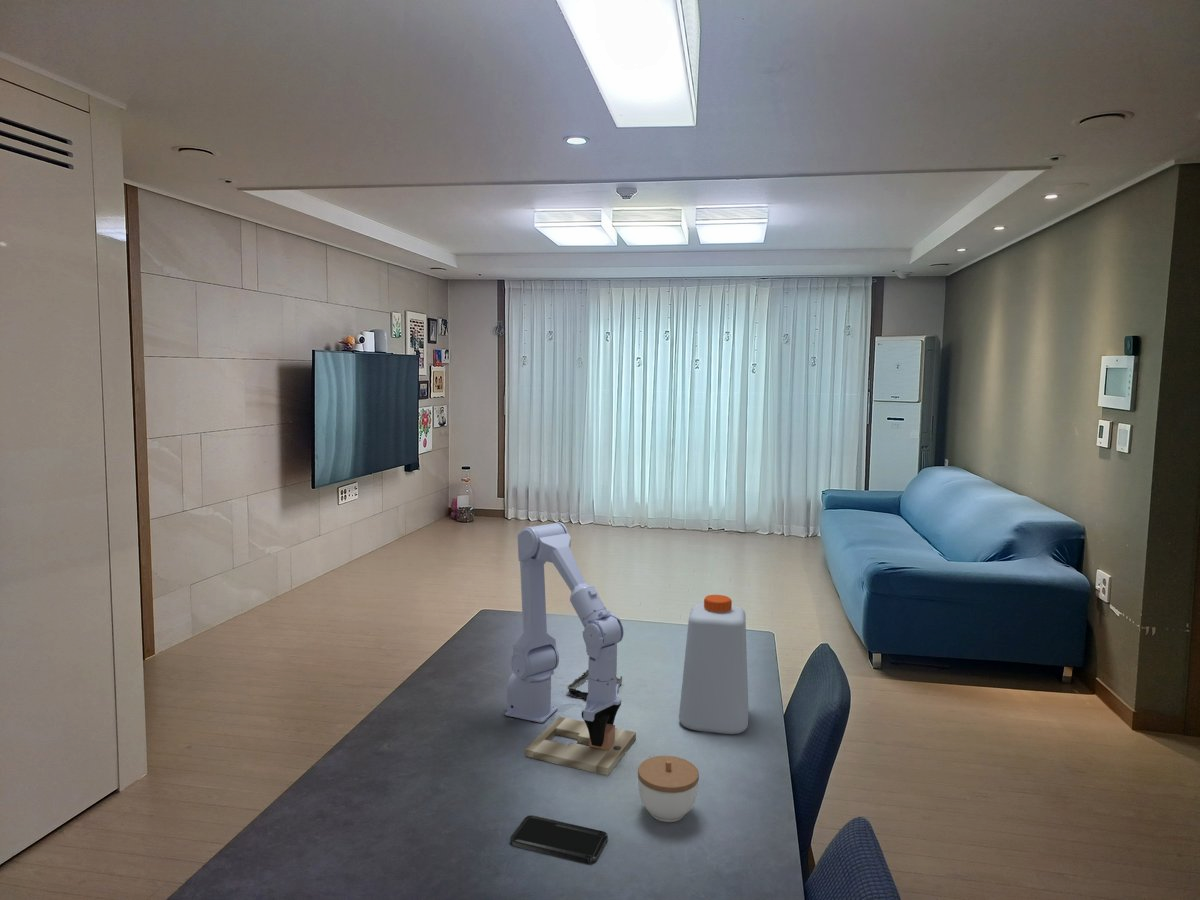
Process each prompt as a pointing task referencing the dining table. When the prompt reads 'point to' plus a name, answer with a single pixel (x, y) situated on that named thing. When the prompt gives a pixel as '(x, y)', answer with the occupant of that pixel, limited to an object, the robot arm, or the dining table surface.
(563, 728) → the keyhole board
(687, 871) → the dining table surface
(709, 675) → the plastic bottle
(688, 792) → the lidded jar
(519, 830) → the phone
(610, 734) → the slider block
